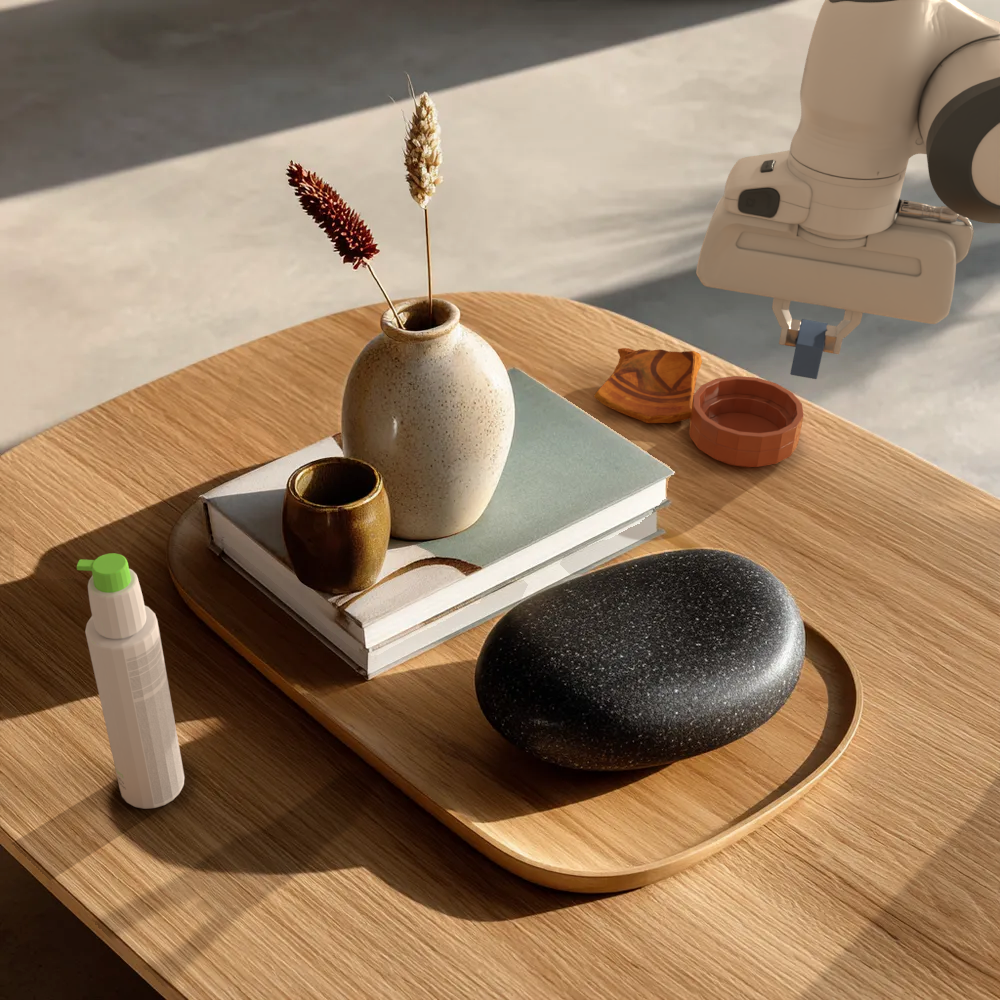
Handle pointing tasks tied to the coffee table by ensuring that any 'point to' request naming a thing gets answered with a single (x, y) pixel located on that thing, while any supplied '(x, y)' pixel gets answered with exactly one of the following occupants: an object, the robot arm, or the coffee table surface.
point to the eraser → (809, 349)
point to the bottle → (132, 684)
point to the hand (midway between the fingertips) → (809, 346)
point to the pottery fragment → (652, 385)
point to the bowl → (745, 421)
